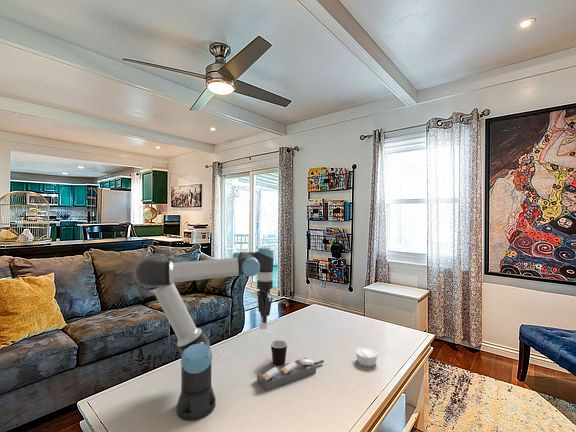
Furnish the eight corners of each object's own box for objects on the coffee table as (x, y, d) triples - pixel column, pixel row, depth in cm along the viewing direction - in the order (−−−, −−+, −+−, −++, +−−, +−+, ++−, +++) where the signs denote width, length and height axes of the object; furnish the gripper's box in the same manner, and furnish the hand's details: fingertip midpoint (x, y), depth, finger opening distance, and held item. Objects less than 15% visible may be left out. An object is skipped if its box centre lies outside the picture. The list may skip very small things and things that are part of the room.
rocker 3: (302, 364, 138) (303, 361, 139) (298, 361, 141) (299, 358, 141) (313, 364, 142) (314, 362, 142) (309, 361, 145) (310, 359, 145)
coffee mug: (285, 368, 145) (285, 348, 145) (268, 366, 147) (268, 347, 147) (289, 356, 157) (289, 338, 156) (274, 354, 158) (274, 337, 158)
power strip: (265, 390, 127) (265, 381, 127) (256, 380, 135) (257, 371, 134) (328, 368, 146) (328, 359, 146) (317, 360, 153) (317, 352, 153)
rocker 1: (266, 380, 128) (265, 378, 128) (262, 377, 131) (262, 374, 131) (279, 372, 132) (278, 369, 131) (275, 369, 134) (275, 366, 134)
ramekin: (351, 362, 152) (352, 352, 152) (362, 354, 160) (362, 345, 160) (371, 370, 144) (371, 360, 144) (381, 361, 153) (381, 352, 152)
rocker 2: (285, 374, 133) (284, 371, 133) (281, 370, 136) (281, 368, 136) (297, 366, 137) (296, 363, 137) (293, 363, 140) (293, 360, 139)
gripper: (278, 282, 133) (276, 332, 134) (266, 276, 145) (264, 322, 145) (263, 283, 130) (261, 335, 130) (252, 277, 141) (250, 324, 141)
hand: (263, 328), depth 137 cm, fingers closed
